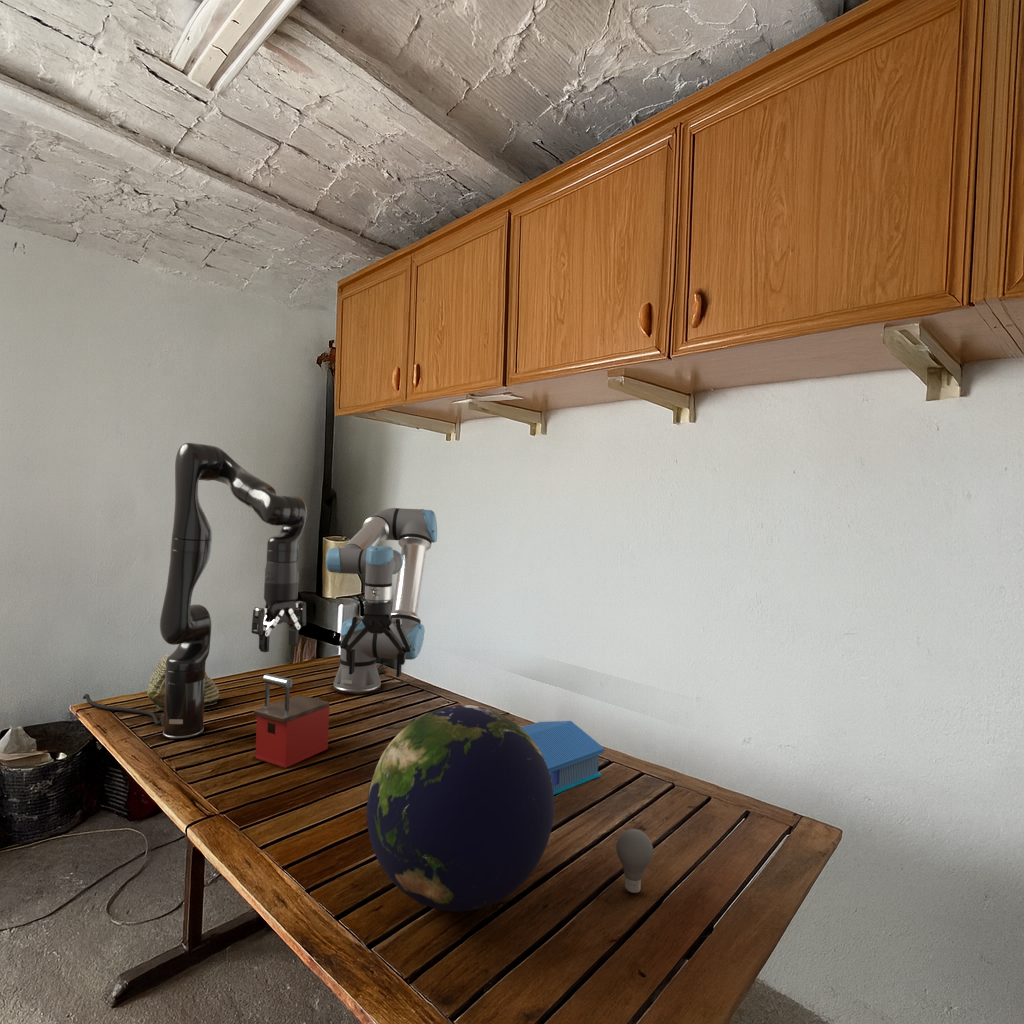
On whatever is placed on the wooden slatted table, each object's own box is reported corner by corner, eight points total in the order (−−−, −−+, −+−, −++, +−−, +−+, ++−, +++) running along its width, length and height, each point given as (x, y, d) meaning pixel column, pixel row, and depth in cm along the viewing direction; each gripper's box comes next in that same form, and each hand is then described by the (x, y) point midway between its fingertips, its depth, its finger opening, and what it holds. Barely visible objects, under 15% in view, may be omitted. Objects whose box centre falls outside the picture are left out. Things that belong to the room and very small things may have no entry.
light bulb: (610, 879, 108) (613, 822, 108) (644, 879, 109) (647, 822, 109) (619, 902, 102) (622, 840, 102) (655, 901, 103) (658, 840, 103)
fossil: (144, 707, 182) (145, 655, 182) (212, 696, 194) (213, 647, 194) (151, 716, 175) (153, 662, 175) (221, 703, 188) (223, 653, 188)
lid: (283, 723, 146) (285, 682, 146) (253, 714, 150) (254, 675, 150) (329, 706, 159) (330, 668, 158) (300, 698, 163) (301, 662, 163)
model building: (483, 834, 121) (485, 782, 121) (412, 787, 139) (414, 742, 139) (612, 780, 148) (614, 737, 147) (538, 746, 166) (540, 708, 166)
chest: (285, 768, 147) (287, 722, 147) (255, 758, 151) (256, 713, 151) (327, 748, 159) (329, 706, 159) (298, 740, 164) (300, 699, 163)
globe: (322, 922, 94) (330, 722, 94) (423, 829, 122) (430, 674, 122) (507, 988, 83) (517, 762, 83) (572, 869, 111) (580, 699, 110)
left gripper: (268, 584, 142) (265, 656, 142) (315, 578, 154) (313, 645, 154) (245, 581, 145) (242, 651, 145) (293, 576, 158) (290, 640, 158)
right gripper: (330, 600, 177) (327, 675, 178) (418, 604, 176) (415, 680, 177) (339, 596, 185) (336, 668, 185) (423, 600, 184) (420, 673, 184)
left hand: (279, 648), depth 150 cm, fingers open, 8 cm apart
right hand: (375, 674), depth 181 cm, fingers open, 13 cm apart
